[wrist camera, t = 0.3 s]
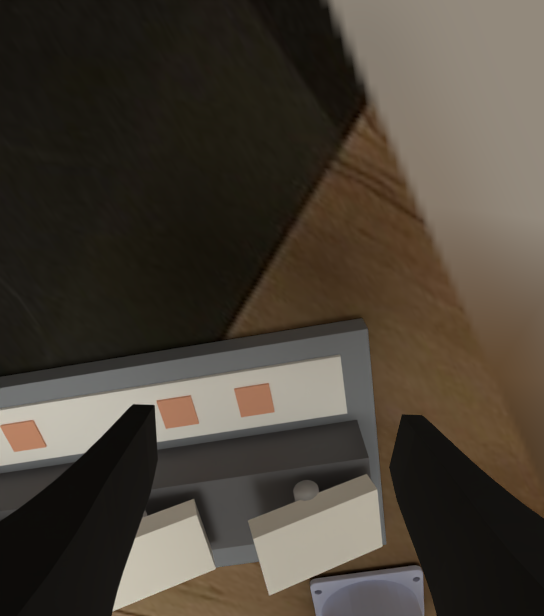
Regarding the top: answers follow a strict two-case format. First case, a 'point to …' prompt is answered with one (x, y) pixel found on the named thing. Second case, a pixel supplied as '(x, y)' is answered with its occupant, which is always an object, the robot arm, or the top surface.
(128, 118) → the top surface
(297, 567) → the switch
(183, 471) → the switch panel
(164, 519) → the switch middle
